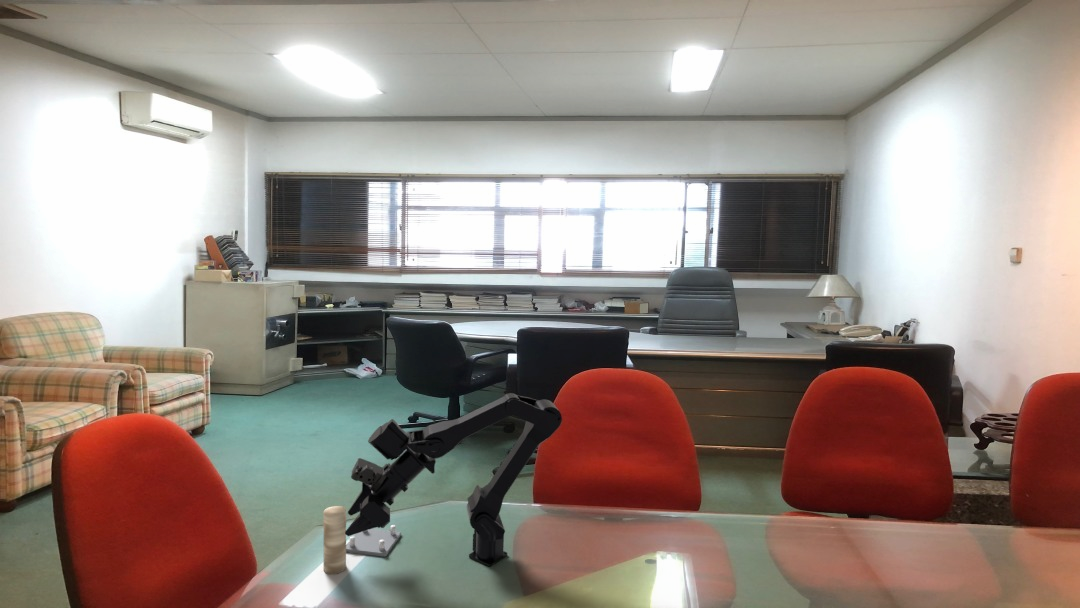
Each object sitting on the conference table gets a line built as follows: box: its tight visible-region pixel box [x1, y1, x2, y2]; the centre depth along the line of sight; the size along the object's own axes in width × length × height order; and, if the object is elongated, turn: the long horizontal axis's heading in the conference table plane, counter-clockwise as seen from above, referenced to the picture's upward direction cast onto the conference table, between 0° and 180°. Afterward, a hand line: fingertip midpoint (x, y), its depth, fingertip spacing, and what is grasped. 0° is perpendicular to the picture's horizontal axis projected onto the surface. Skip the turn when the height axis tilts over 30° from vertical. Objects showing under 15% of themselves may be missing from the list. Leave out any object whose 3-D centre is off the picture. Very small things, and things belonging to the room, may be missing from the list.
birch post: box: [323, 505, 347, 575], centre depth 135 cm, size 5×5×13 cm
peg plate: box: [346, 524, 402, 557], centre depth 146 cm, size 10×10×3 cm
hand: (347, 524), depth 135 cm, fingers open, 9 cm apart
